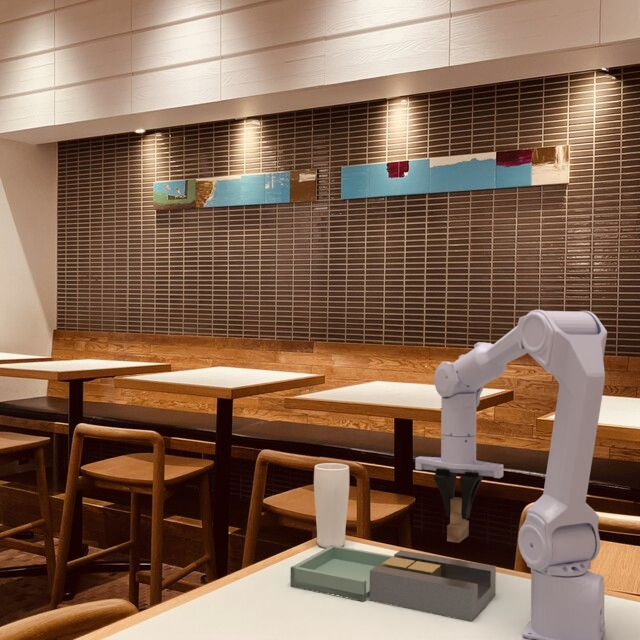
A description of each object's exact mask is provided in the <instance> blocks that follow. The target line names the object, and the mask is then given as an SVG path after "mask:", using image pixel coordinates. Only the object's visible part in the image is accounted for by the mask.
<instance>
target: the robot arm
mask: <svg viewBox="0 0 640 640" xmlns="http://www.w3.org/2000/svg"><path fill="white" fill-rule="evenodd" d="M607 336H608V331H607V329H606V328H605V327H604V325H603V324H602V322H601V321H600V318H598V316H597V315H596V314H594V313H593V312H591V311H589V310H580V311H564V310H563V311H560V310H553V311H552V310H543V309H534V310H531V311H529V312H528V313H527V314H526V315H523V316H521V317H519V318H518V322H517V325H516V326H515V327H514V328H512V329H511V330H510V331H508V332H507V333H506V334H504V336H502V337H501V338H499V339H498V340H497V341H496V342H494V343H490V342H484V341H483V342H480V341H478V342H477V343H475V344H474V345H473V347H474V348H472V349H471V350H470V351H468V352H467V353H465V354H461V355H459V356H458V359H456V360H455V361H454V362H450V361H441V362H440V364H438V366H437V367H436V369H435V371H434V376H433V378H434V379H433V381H434V387H435V390H436V392H437V394H438V395H439V396H440V397H441V399H440V400H441V402H440V403H441V405H440V406H441V407H440V408H441V409H440V410H441V412H440V413H441V414H440V415H441V417H440V421H441V425H440V427H441V429H440V430H441V432H440V433H441V434H440V436H441V437H440V438H441V439H440V443H441V444H440V445H441V446H440V455H441V456H440V457H436V456H435V457H432V456H418V457H417V456H416V457H415V470H419V471H422V470H426V471H428V470H429V471H434V472H435V474H433V480H434V482H435V484H436V486H437V489H438V490H439V492H440V496H441V498H442V502H443V505H444V509H445V510H444V511H445V515H446V517H447V518H450V499H452V498H453V497H456V496H455V495H456V484H457V477H458V476H457V475H458V474H463V475H461V476H460V477H459V483H460V491H461V493H460V494H461V498H462V508H461V516H462V519H466V520H467V519H469V518H470V517H471V516H470V515H471V511H472V506H473V501H474V499H475V496H476V494H477V491H478V489H479V487H480V485H481V483H482V481H483V478H484V477H492V478H495V479H501V478H503V477H504V464H501V463H493V462H488V461H483V460H482V461H481V460H477V407H479V405H480V403H481V402H480V401H481V394H482V392H483V391H484V386H485V385H487V384H488V383H490V382H492V381H494V380H495V379H497V378H499V377H501V376H502V375H503V374H504V373H505V372H506V369H507V364H509V363H510V362H513V361H514V360H516V359H518V358H520V357H522V356H524V355H526V354H528V355H529V356H530V357H531V358H533V360H534V361H535V362H536V363H537V364H538V365H539V366H541V367H542V369H544V370H545V371H546V372H547V373H548V374H549V375H551V376H553V377H554V379H555V380H556V381H557V383H558V385H559V386H558V393H557V399H556V405H555V411H554V418H553V419H554V420H553V427H552V433H551V437H550V438H551V439H550V445H549V446H550V448H549V453H548V459H547V468H546V473H545V480H544V488H543V494H542V495H541V496H540V497H539V498H538V499H537V500H535V502H534V503H532V504H531V506H529V507H528V508H527V511H526V515H525V516H526V517H525V520H524V523H523V524H522V525H521V527H520V529H519V532H518V538H517V542H518V549H519V552H520V555H521V556H522V559H523V560H524V562H525V563H526V567H528V568H530V572H531V575H530V576H531V577H530V578H531V579H530V583H531V584H530V621H529V622H528V624H527V625H526V627H525V628H524V629H523V631H522V634H521V635H522V637H524V638H528V639H532V640H602V638H603V636H604V635H605V632H606V628H605V627H606V625H605V624H606V623H605V622H606V620H605V580H604V576H603V575H602V574H598V573H594V572H591V571H589V570H591V569H592V565H591V564H592V562H593V561H594V560H596V559H597V557H598V555H599V553H600V549H601V538H600V533H599V519H600V516H599V514H598V513H597V512H596V511H595V509H593V508H592V507H591V506H590V505H589V504H588V503H587V501H586V500H587V494H588V490H589V482H590V475H591V470H592V469H591V468H592V463H593V456H594V450H595V444H596V437H597V432H598V425H599V419H600V413H601V406H602V399H603V393H604V388H605V387H604V386H605V381H606V371H605V365H604V356H605V349H606V343H607Z"/></svg>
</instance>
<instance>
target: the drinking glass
mask: <svg viewBox="0 0 640 640" xmlns="http://www.w3.org/2000/svg"><path fill="white" fill-rule="evenodd" d="M313 470H314V471H313V495H314V506H315V521H316V542H317V545H318V546H319V547H322V548H324V549H326V548H328V547H330V546H331V545H333V546H339V547H344V545H345V543H346V528H347V527H346V526H347V516H348V506H349V496H350V493H349V492H350V466H349V465H348V464H344V463H334V462H327V463H326V462H324V463H318V464H315V465H314V469H313Z"/></svg>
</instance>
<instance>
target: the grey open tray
mask: <svg viewBox="0 0 640 640" xmlns="http://www.w3.org/2000/svg"><path fill="white" fill-rule="evenodd" d="M393 556H394V557H397V558H402V559H408V560H414V561H415V562H416V561H419V562H425V563H431V564H437V565H441V577H437V576H431V575H426V574H420V573H415V572H409V571H404V570H399V569H393V568H388V567H382V566H376V567H374V568H373V569H371V570H370V597H369V601H371V600H373V601H372V602H376V601H378V603H381V602H382V604H386V603H387V605H390V604H392V606H395V605H397V606H396V607H400V606H401V607H400V608H405V607H406V609H409V608H410V610H414V609H415V610H414V611H419V610H420V612H424V613H430V614H433V615H438V616H443V615H444V616H443V617H448V616H450V617H449V618H453V617H455V618H454V619H457V618H460V619H459V620H462V619H463V620H462V621H467V622H473V620H475V618H476V617H478V615H479V614H480V613H481V612H482V611H483V610H484V609H485V608H486V606H487V605H488V604H489V603H490V602H491V601H492V600H493V599H494V597H495V596H496V588H497V587H496V578H497V577H496V576H497V573H496V572H497V570H496V569H497V565H491V564H485V563H479V562H474V561H468V560H462V559H455V558H448V557H444V556H438V555H433V554H431V555H430V554H427V553H426V554H425V553H421V552H414V551H410V550H409V551H408V550H402V549H401V550H400V549H399V551H397V552H396V553H394V555H393Z"/></svg>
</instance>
